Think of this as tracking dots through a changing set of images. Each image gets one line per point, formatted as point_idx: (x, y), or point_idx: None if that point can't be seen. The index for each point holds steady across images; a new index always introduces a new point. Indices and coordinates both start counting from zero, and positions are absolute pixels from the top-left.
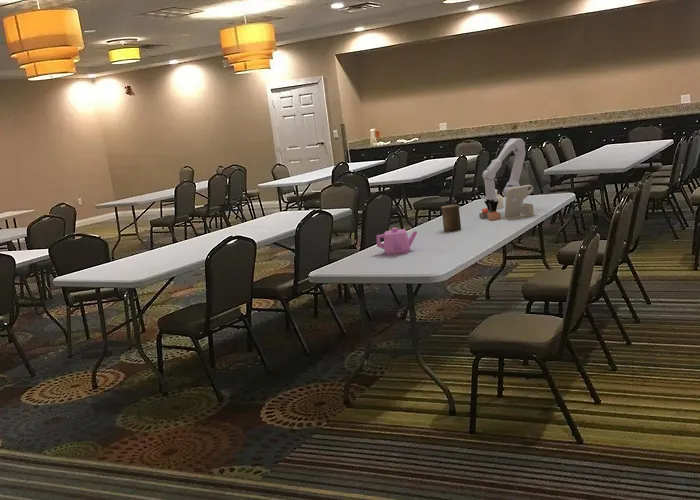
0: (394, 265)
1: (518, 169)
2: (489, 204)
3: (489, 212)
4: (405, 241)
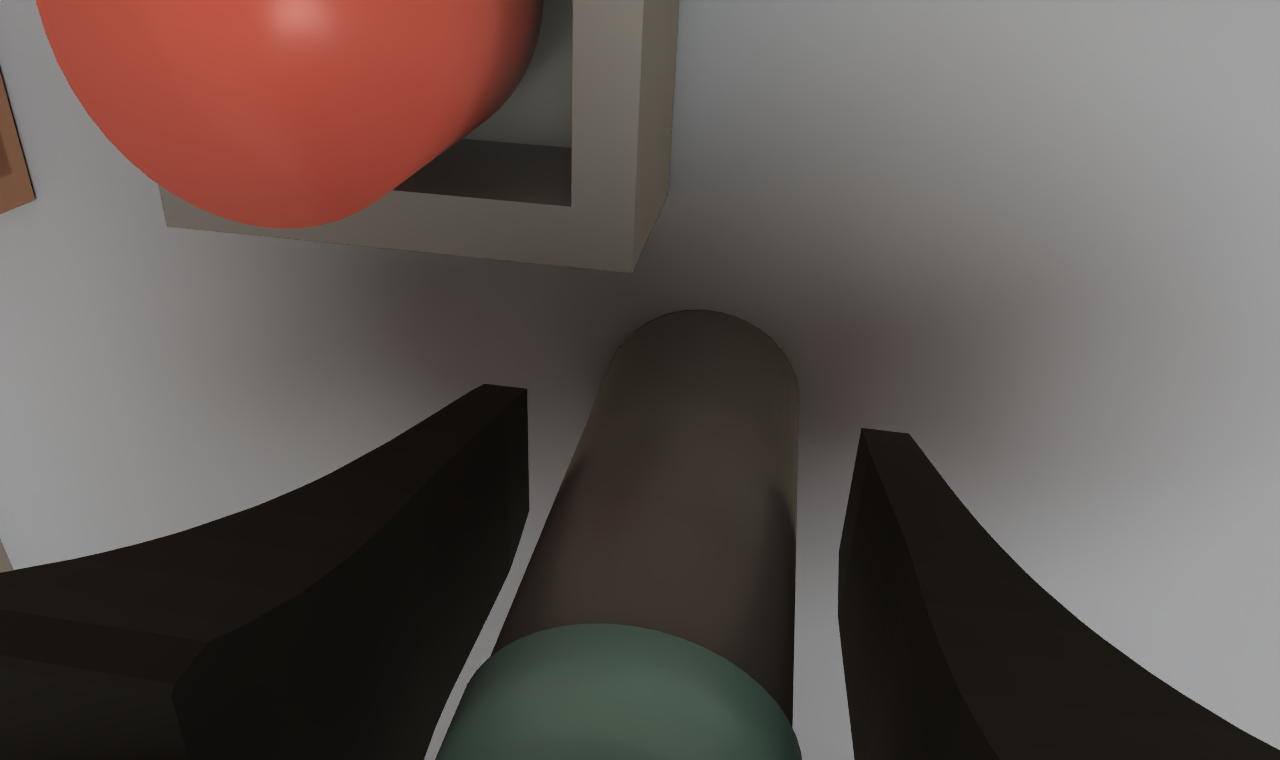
0: None
1: None
2: (579, 649)
3: None
4: None
